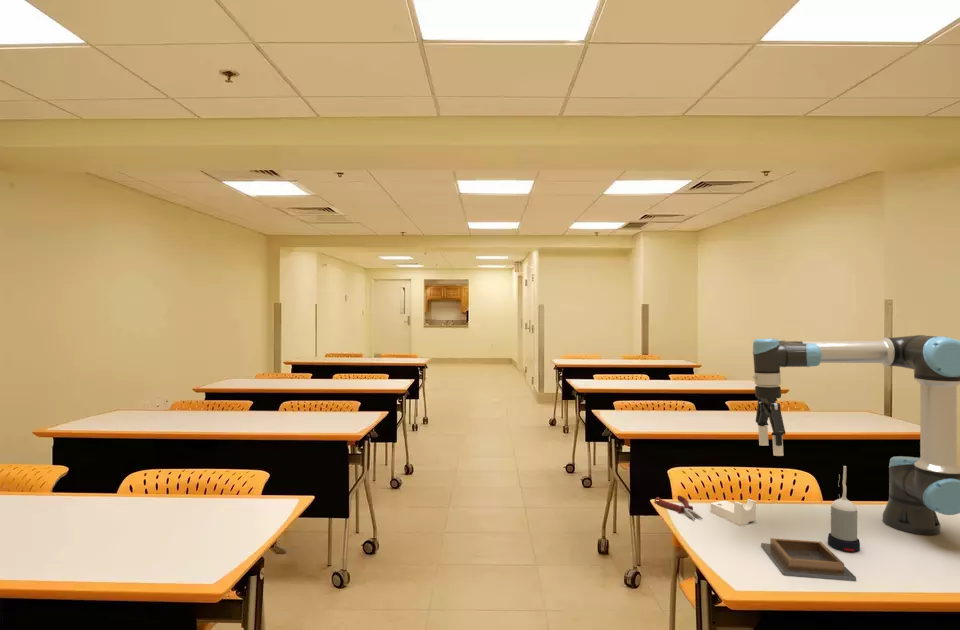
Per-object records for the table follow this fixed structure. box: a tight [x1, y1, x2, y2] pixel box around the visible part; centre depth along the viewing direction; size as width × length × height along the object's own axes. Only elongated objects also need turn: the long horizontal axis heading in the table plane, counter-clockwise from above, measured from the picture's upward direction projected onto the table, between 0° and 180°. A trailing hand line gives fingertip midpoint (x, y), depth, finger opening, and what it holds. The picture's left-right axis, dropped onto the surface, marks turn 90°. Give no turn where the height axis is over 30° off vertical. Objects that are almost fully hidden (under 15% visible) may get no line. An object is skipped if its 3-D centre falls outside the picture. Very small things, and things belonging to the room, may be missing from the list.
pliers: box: [654, 495, 704, 521], centre depth 192 cm, size 12×20×3 cm, turn 11°
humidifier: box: [827, 465, 861, 554], centre depth 163 cm, size 8×8×25 cm
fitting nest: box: [760, 537, 857, 582], centre depth 153 cm, size 18×18×4 cm
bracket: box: [710, 498, 757, 526], centre depth 186 cm, size 13×7×8 cm, turn 22°
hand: (770, 450), depth 173 cm, fingers open, 13 cm apart
